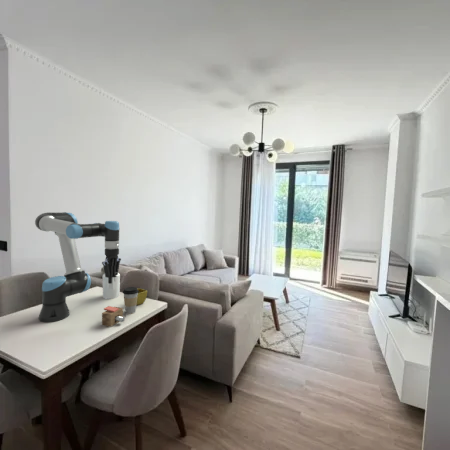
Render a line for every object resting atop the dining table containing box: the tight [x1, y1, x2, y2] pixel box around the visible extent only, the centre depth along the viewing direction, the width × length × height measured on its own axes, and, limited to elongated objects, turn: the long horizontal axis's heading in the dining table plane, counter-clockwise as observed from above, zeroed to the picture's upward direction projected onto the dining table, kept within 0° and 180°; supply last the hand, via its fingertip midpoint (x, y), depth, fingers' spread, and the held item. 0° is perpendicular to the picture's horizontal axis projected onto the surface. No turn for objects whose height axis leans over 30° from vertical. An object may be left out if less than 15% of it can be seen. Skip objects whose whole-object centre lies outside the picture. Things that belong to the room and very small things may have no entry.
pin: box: [115, 316, 125, 323], centre depth 148 cm, size 11×4×4 cm, turn 74°
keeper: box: [103, 305, 119, 312], centre depth 149 cm, size 7×4×1 cm, turn 74°
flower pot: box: [136, 288, 148, 306], centre depth 178 cm, size 9×9×9 cm
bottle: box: [102, 272, 121, 300], centre depth 190 cm, size 12×12×25 cm
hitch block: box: [101, 306, 124, 327], centre depth 149 cm, size 6×10×7 cm, turn 164°
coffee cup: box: [122, 286, 139, 315], centre depth 164 cm, size 9×9×15 cm
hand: (111, 288), depth 148 cm, fingers closed
